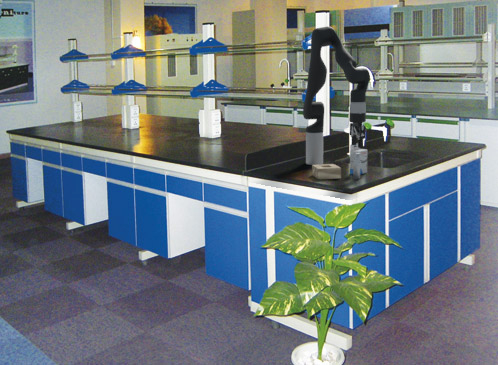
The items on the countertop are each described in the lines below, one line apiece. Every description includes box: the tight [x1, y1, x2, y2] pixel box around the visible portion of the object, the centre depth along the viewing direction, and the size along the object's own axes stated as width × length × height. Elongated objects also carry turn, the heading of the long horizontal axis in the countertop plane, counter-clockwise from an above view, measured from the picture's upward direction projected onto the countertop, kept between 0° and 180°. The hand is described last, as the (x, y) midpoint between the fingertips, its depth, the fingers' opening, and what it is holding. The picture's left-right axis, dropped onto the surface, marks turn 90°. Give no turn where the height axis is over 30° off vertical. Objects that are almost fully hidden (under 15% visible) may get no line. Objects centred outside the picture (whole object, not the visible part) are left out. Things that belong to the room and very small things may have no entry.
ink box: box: [349, 142, 368, 175], centre depth 298 cm, size 9×5×15 cm, turn 136°
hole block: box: [311, 163, 342, 180], centre depth 293 cm, size 11×11×5 cm
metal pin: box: [352, 153, 361, 180], centre depth 287 cm, size 3×3×12 cm
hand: (357, 146), depth 285 cm, fingers open, 8 cm apart
